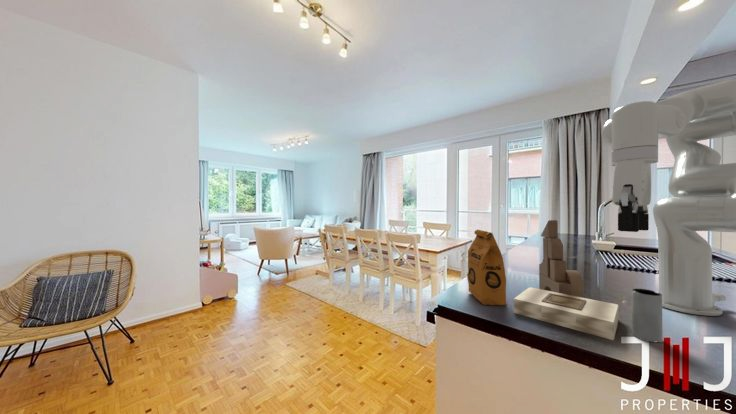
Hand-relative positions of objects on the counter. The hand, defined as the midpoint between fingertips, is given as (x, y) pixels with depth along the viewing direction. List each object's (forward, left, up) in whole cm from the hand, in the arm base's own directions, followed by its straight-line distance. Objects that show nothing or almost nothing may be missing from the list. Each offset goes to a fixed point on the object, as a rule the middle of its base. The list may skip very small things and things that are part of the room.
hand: (633, 230), depth 59 cm
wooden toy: (0, -23, -24) cm, 33 cm away
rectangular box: (+10, -9, -24) cm, 27 cm away
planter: (0, +2, -24) cm, 24 cm away
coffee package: (+24, -23, -24) cm, 41 cm away
